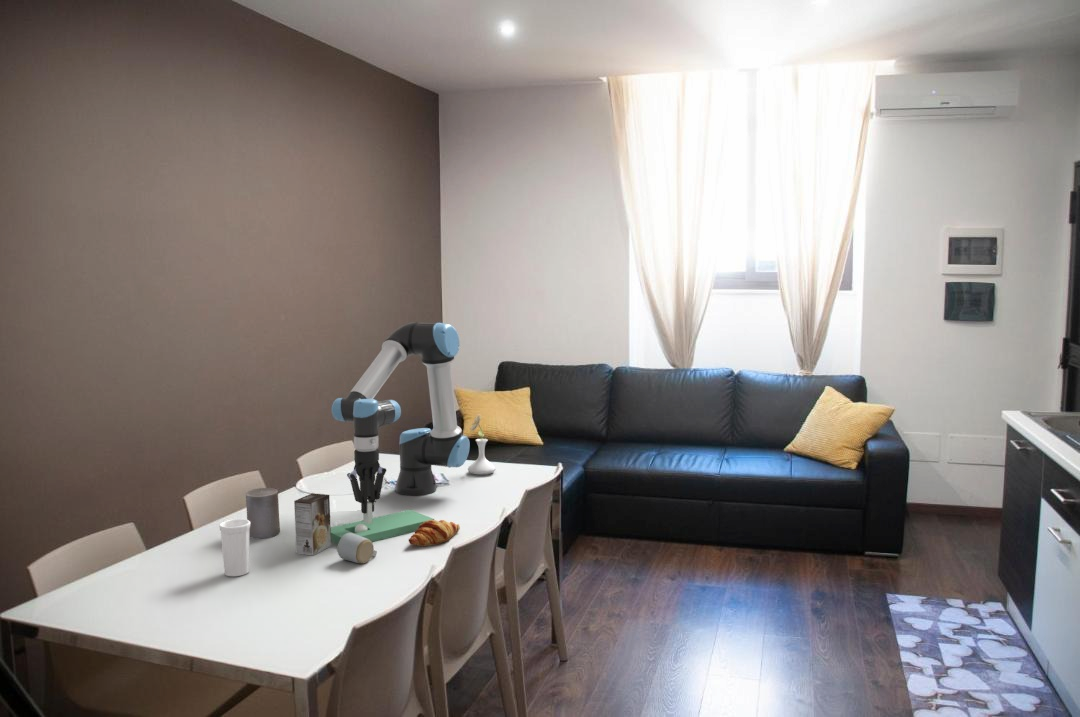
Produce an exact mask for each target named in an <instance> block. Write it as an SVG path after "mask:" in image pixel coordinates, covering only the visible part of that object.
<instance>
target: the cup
mask: <svg viewBox="0 0 1080 717" xmlns="http://www.w3.org/2000/svg"><path fill="white" fill-rule="evenodd" d="M250 523H251V522H250V521H249V520H247V518H246V519H245V518H233V519H228V520H225V521H224V520H223V522H220V524H219V526H218V527H219V531H220V537H221V547H222V559H223V569H224V575H225V576H228V577H240V576H244V575H246V574H248V573H249V572H250V537H249V528H250Z"/></svg>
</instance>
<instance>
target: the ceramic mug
mask: <svg viewBox="0 0 1080 717" xmlns="http://www.w3.org/2000/svg"><path fill="white" fill-rule="evenodd" d="M374 549H375V548H374V542H371V541H370V540H369V539H367V538H364V537H361V536H359V535H356V534H353V533H346V534H345V535H343V536H342V538H341V539H340V541H339V543H338V544H337V549H336V550H337V555H338V556H339V558H341V559H342V560H345V561H350V562H353V563H355V564H366V563H368V562H369V561H370V559H372V557H376V556H377V554H378V551H377V550H374Z"/></svg>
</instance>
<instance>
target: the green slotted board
mask: <svg viewBox="0 0 1080 717" xmlns="http://www.w3.org/2000/svg"><path fill="white" fill-rule="evenodd" d="M428 520H435V518H432V517H430V516H428V515H425V514H422V513H420V512H418V511H415V510H413V509H407V510H403V511H399V512H394V513H390V514H384V515H380V516H377V517H372V523H370V524H367V523H365V522H364V519H363V520H359V521H354V522H349V523H344V524H341V525H335V526H330V527H331V542H333V543H335V544H337V545H338V543H339V541H340V539H341V538H342V536H343V535H345V534H346V533H353V534H356V535H359V536H361V537H364V538H367V539H369V540H370V541H371V542H372V543H374V542H377V541H381V540H384V539H385V540H386V539H389V538H392V537H397V536H401V535H406V534H409V533H415V531H416V530H417V529H418V528H419V526H420V525H421V524H422V523H423V522H425V521H428ZM358 524H364V525H366V526H367V528H368V530H366V531H362V532H358V533H355V527H356V526H357V525H358Z"/></svg>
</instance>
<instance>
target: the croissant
mask: <svg viewBox="0 0 1080 717" xmlns="http://www.w3.org/2000/svg"><path fill="white" fill-rule="evenodd" d="M460 529H461V526H460V524H459V523H457V524H456V523H455V522H452V521H450V522H449V521H446V520H444V519H440V520H436V519H434V520H428V521H425V522H423V523H422V524H421V525H420V526H419V528H418V529H417V530H416V531H414V533H413V534H412V535H411V536H410V538H408V543H409V544H410V545H412V546H420V547H428V546H437V545H439V544H442V543H445V542H447V541H449V540H450V539H451V538H453V537H454V536H455V535H456V534H457V533H458V532H459V531H460Z"/></svg>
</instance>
